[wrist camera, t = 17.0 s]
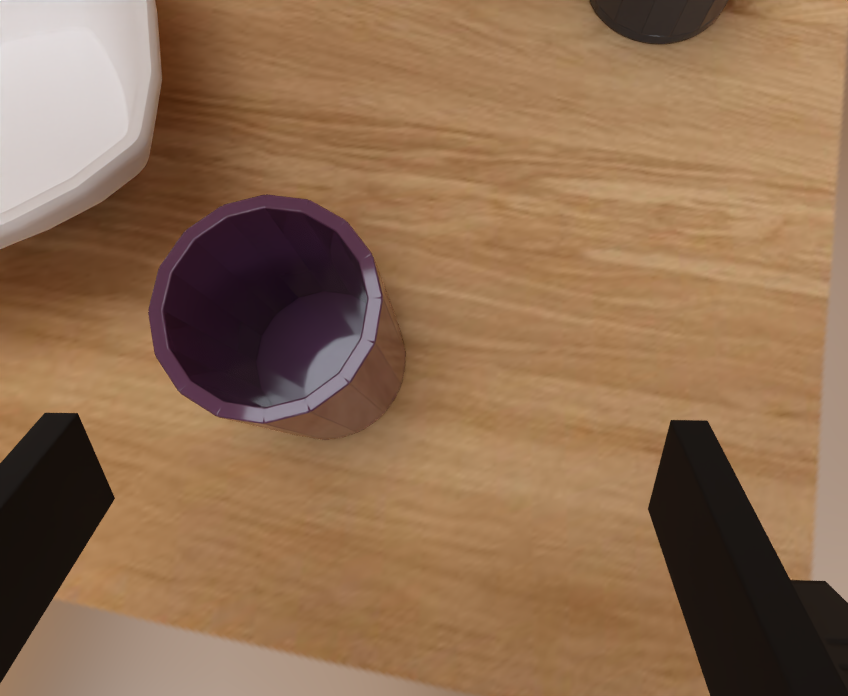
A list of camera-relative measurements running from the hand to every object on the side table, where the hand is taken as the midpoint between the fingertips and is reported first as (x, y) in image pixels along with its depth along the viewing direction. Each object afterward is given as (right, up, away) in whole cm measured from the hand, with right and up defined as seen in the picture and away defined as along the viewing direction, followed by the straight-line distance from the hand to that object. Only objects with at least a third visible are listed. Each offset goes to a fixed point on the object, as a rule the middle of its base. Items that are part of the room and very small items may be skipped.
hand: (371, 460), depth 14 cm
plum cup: (-3, +2, +15) cm, 16 cm away
